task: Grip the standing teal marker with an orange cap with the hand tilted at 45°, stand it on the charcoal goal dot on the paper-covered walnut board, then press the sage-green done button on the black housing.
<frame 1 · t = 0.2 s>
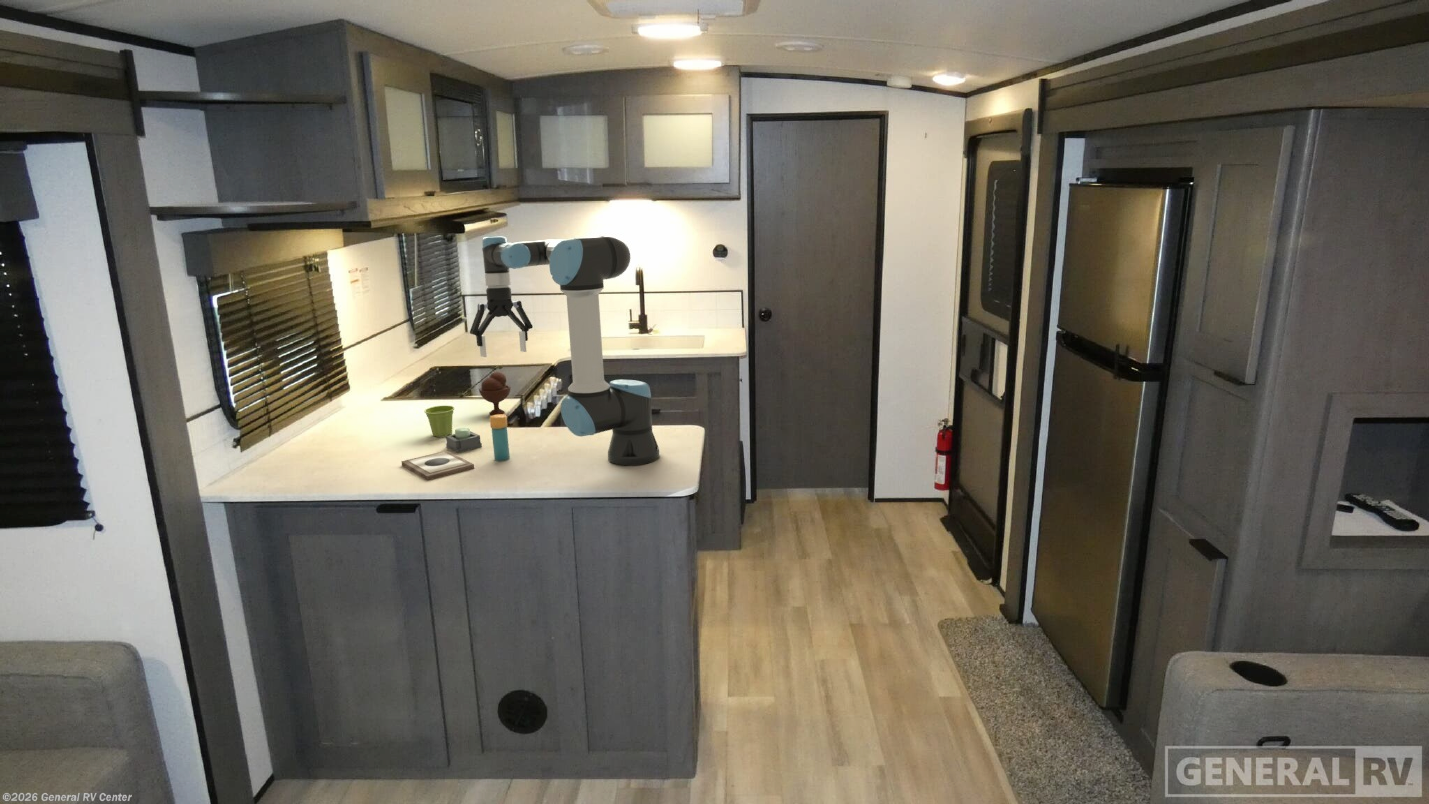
hand: (503, 354, 270), 27 cm above the worktop, tool pointing down, fingers open, 13 cm apart
ice cream bowl: (497, 414, 303), on the worktop
done button housing: (464, 446, 266), on the worktop
plant pot: (442, 435, 280), on the worktop
marker: (502, 458, 254), on the worktop
done button: (462, 434, 265), point 4 cm above the worktop, slide at 0.0 cm
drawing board: (437, 466, 248), on the worktop
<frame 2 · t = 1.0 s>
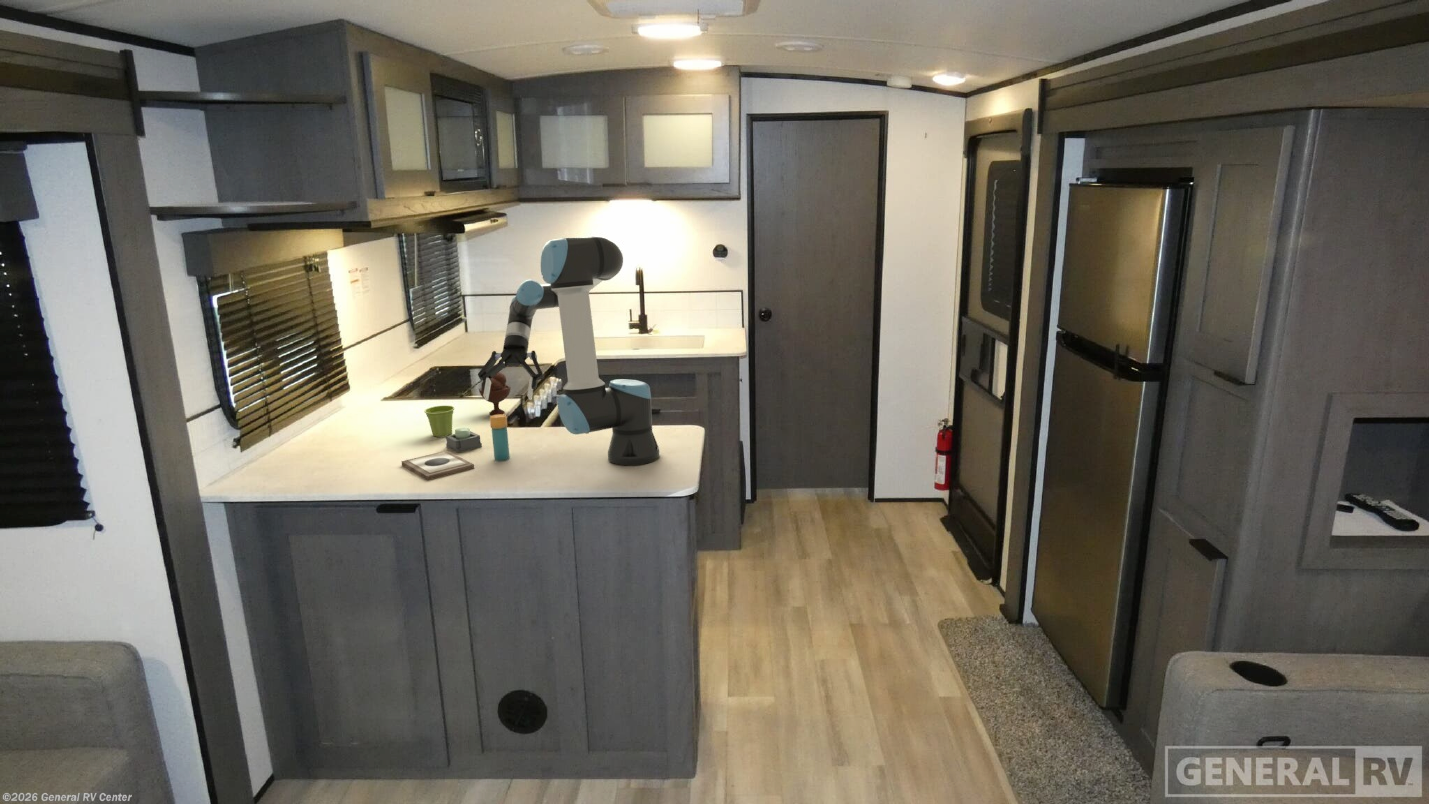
hand: (507, 398, 260), 16 cm above the worktop, tool tilted 45°, fingers open, 13 cm apart
nothing on the worktop moved.
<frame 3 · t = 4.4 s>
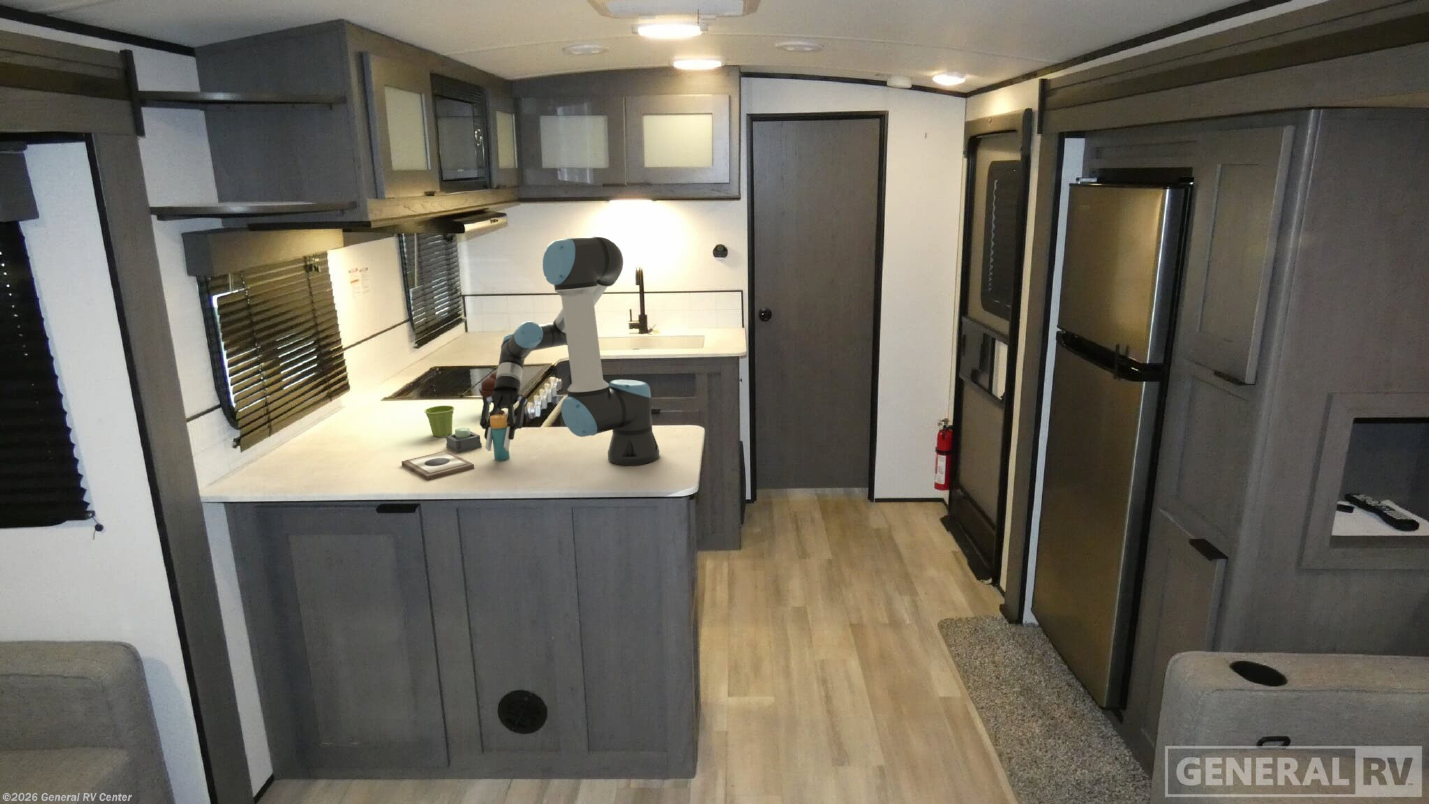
hand: (497, 448, 249), 4 cm above the worktop, tool tilted 45°, fingers closed on marker, 5 cm apart
marker: (502, 458, 254), on the worktop, touching gripper
everything else where it was.
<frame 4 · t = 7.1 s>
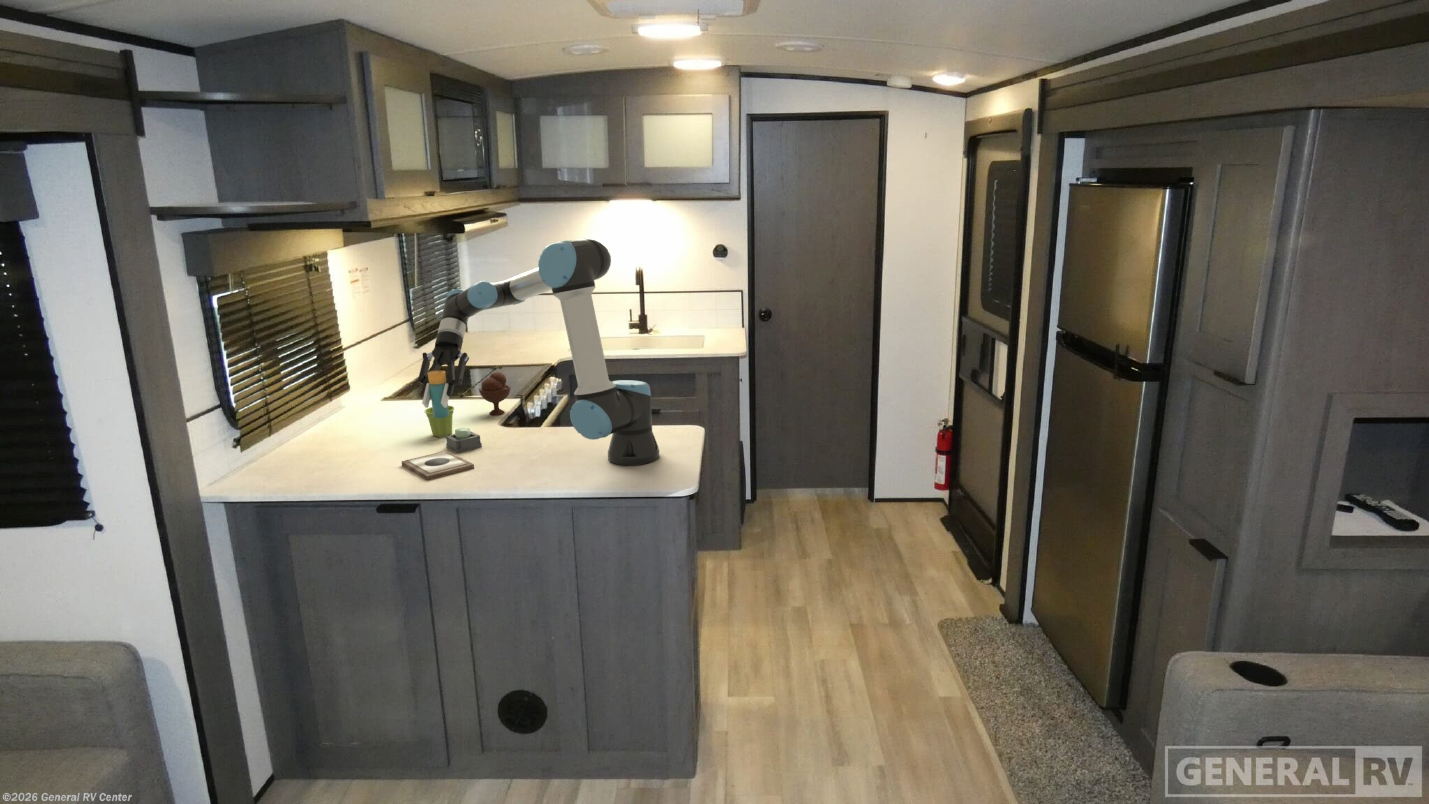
hand: (434, 405, 242), 19 cm above the worktop, tool tilted 45°, fingers closed on marker, 5 cm apart
marker: (441, 415, 246), point 15 cm above the worktop, touching gripper
everything else where it was.
when the fingers open (7 cm above the worktop, at t = 9.7 s): marker drops 2 cm, resting on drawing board.
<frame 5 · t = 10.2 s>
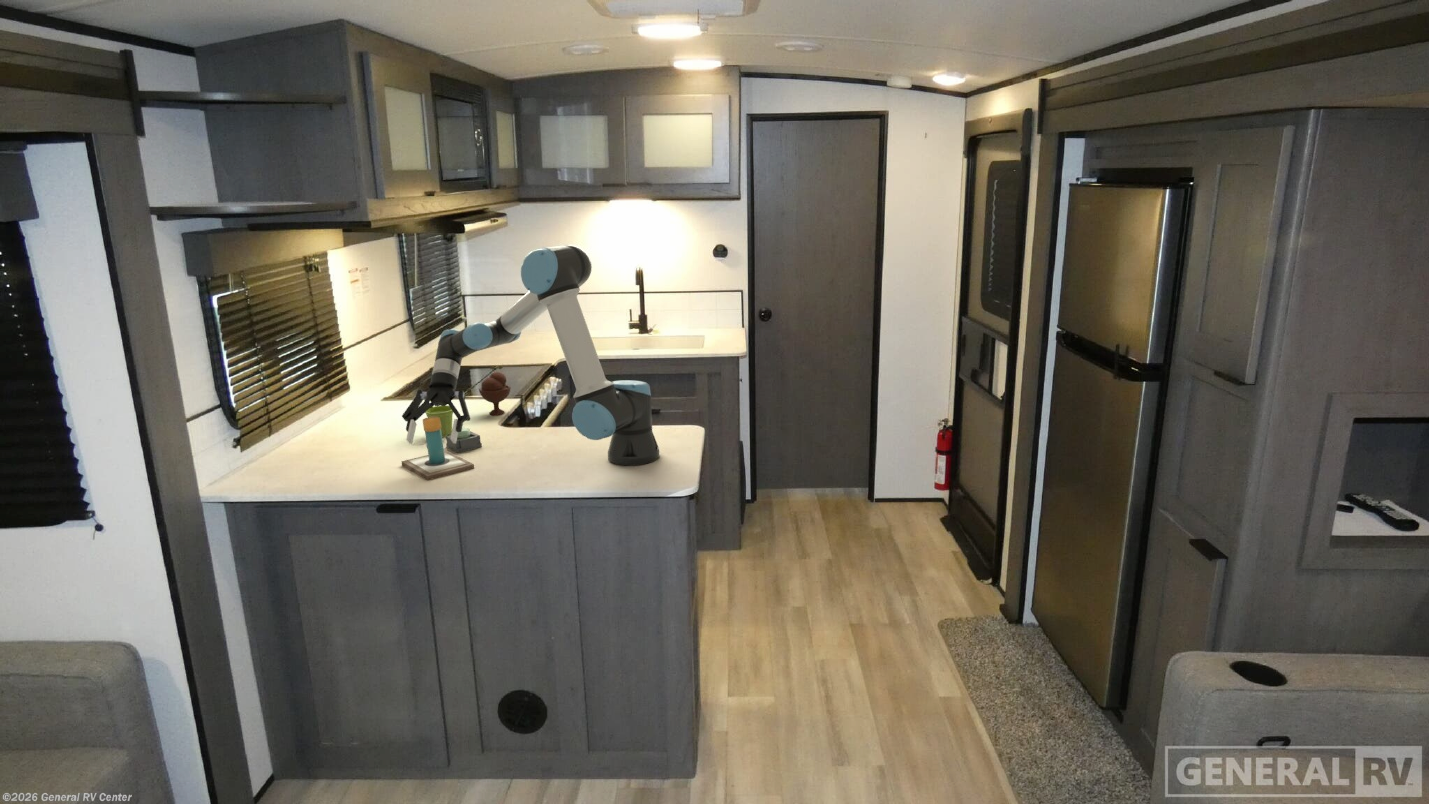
hand: (431, 441, 244), 8 cm above the worktop, tool tilted 45°, fingers open, 12 cm apart
marker: (437, 461, 248), point 2 cm above the worktop, touching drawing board
everything else where it was.
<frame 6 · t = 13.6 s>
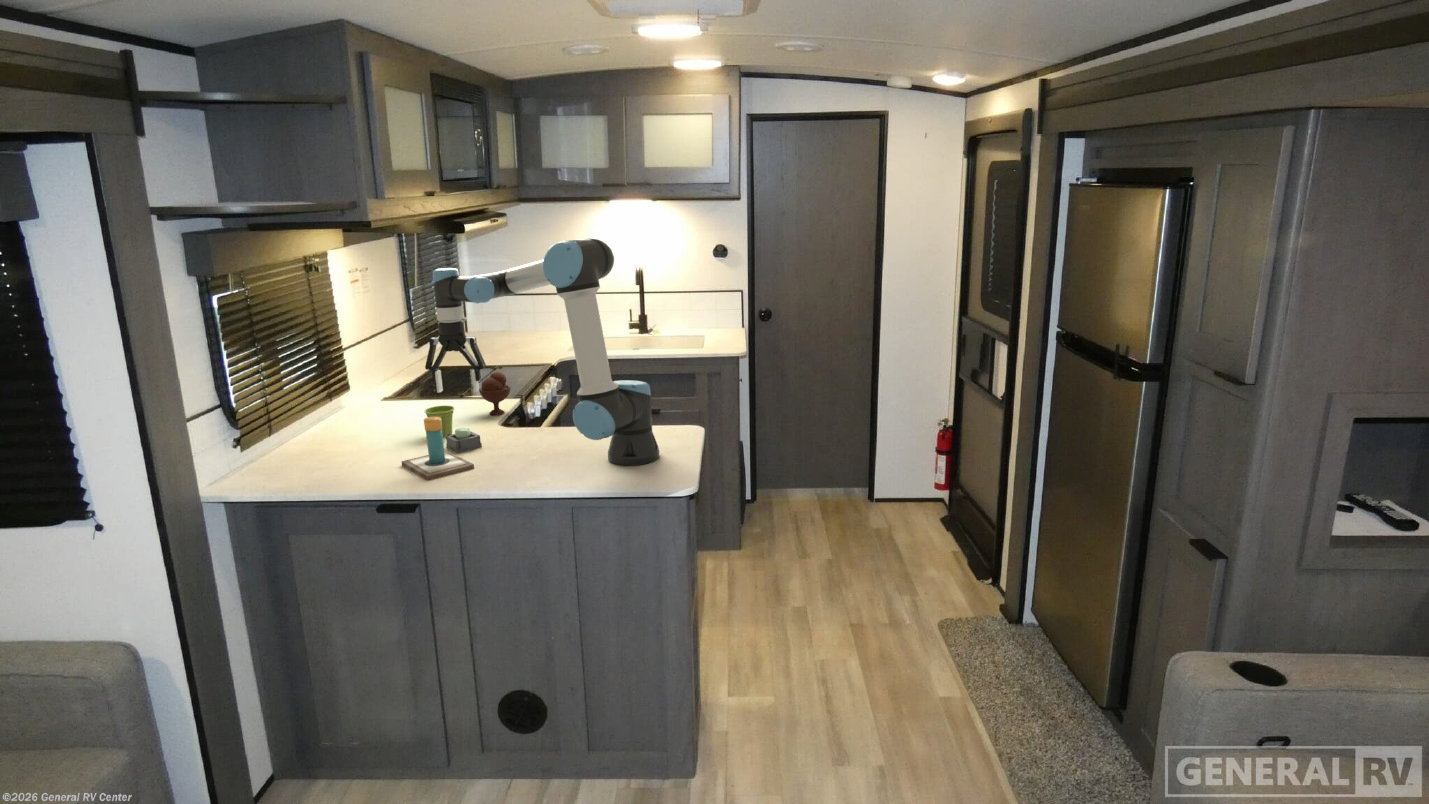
hand: (458, 391, 261), 18 cm above the worktop, tool pointing down, fingers open, 11 cm apart
nothing on the worktop moved.
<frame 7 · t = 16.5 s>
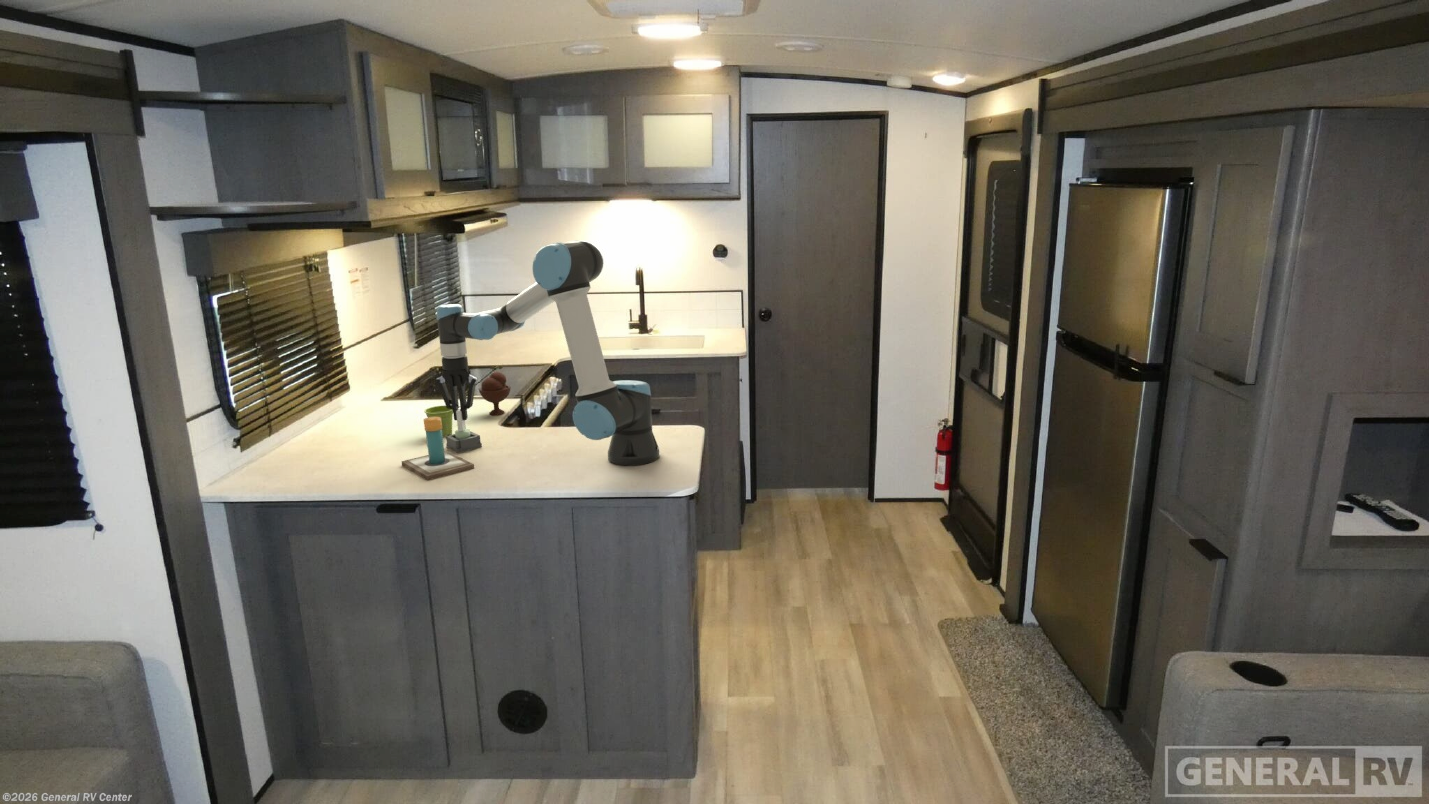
hand: (462, 430, 264), 6 cm above the worktop, tool pointing down, fingers closed
done button: (462, 435, 265), point 4 cm above the worktop, slide at 0.4 cm, touching gripper
everything else where it was.
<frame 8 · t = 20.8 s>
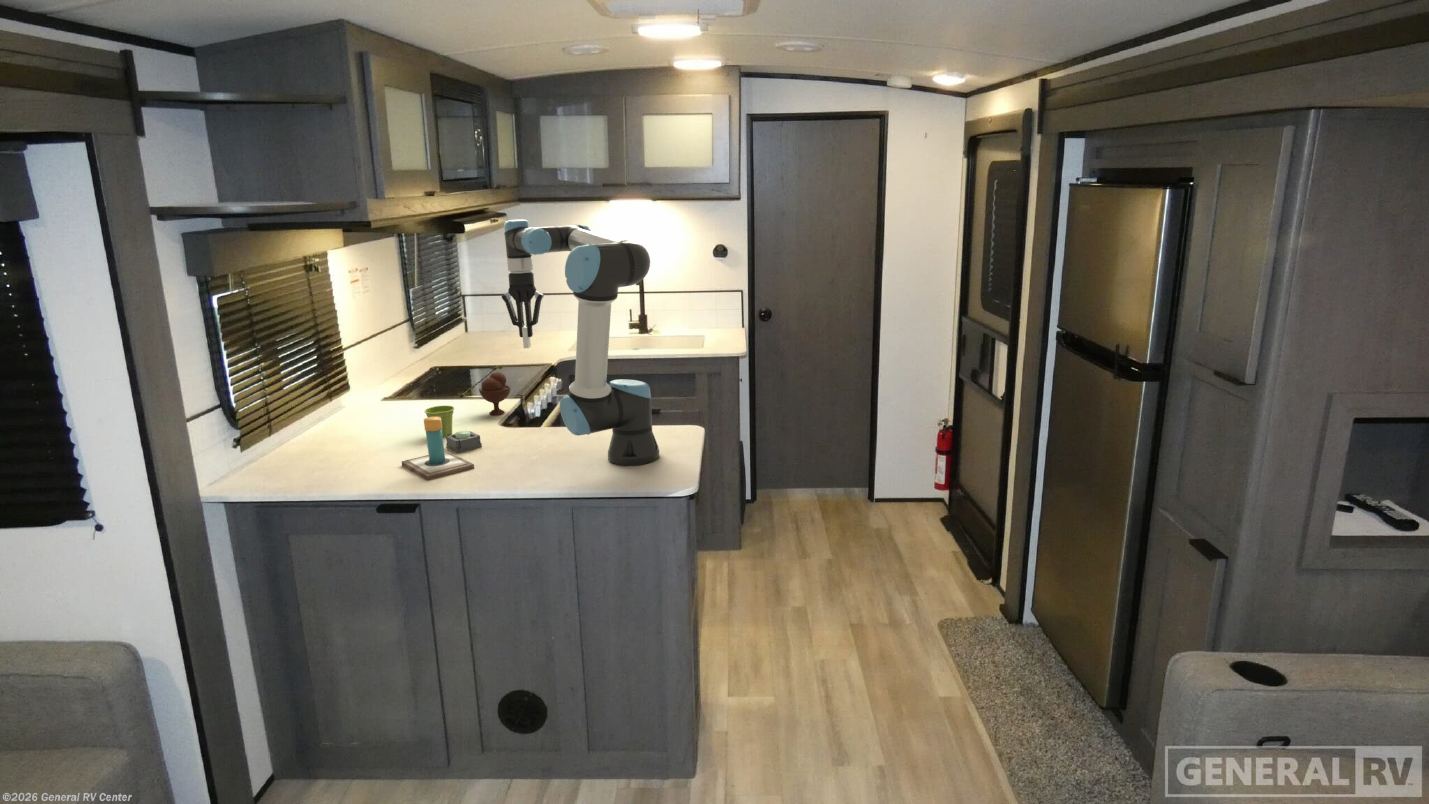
hand: (527, 347, 266), 29 cm above the worktop, tool pointing down, fingers closed
done button: (463, 437, 265), point 3 cm above the worktop, slide at 1.0 cm
everything else where it was.
at the end: marker 0.1 cm off-centre on the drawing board, point 1.5 cm above the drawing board's base; marker tilted 0°; done button slide at 1.0 cm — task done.
